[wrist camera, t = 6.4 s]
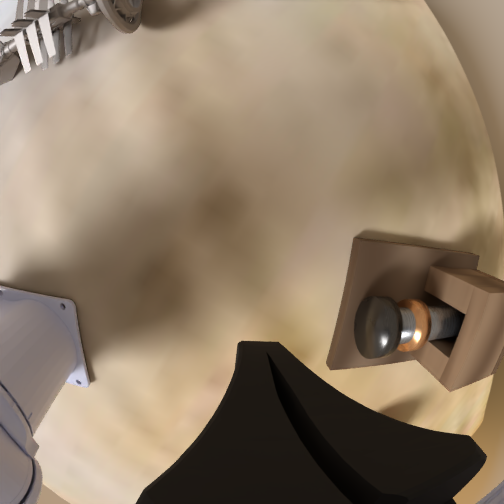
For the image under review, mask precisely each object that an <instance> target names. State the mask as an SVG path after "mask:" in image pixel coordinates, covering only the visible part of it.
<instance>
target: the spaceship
mask: <svg viewBox="0 0 504 504" xmlns="http://www.w3.org/2000/svg"><path fill="white" fill-rule="evenodd" d="M23 2H24V0H18V5H17V11H16V19H15V21H14V22H13V23H11V24H13V25H12V27H14V29H4V30H3V31H2V32H1V33H0V34H1V35H0V36H11V37H12V38H14V39H13V40H10V41H8V42H5V43H2V42H1V41H0V85H1V84H3V83H6V82H8V81H10V80H13V77H14V75H15V72H16V70H17V67H18V65H19V63H20V59H21V62H22V65H23V68H24V71H25V73H27V72H29V71H30V70H31V67H30V63H29V59H28V55H27V50H26V46H25V45H30V46H31V49H32V52H33V55H34V58H35V62H36V65H37V66H38V65H39V64H41V63H42V70H45V69H47V68H48V55H49V57H52V56H53V63H54V64H55V63H57V62H58V61H59V60H60V54H59V30H63V33H64V46H65V55H66V57H67V56H69V55H71V54H72V23H74V24H76V23H78V22H80V21H81V20H80V18H77V17H74V14H73V13H74V12H76V11H78V10H82V9H83V8H84V7H85V8H87V10H88V12H89V13H90V15H92V16H96V15H98V14H100V12H101V11H102V12H103V14H104V15H105V17H106V18H107V19H108V20H109V21H110V22H111V24H112V25H113V26H114V27H115V28H116V29H117V30H119V31H120V32H122V33H133V32H134V31H135V30H136V29H137V28H138V27H139V25H140V21H141V8H142V0H73V1H71V2H68V0H59V2H60V3H57V4H56V5H55V4H54V0H37V1H35V0H28V6H27V12H26V13H24V14H26V15H25V16H24V17H26V19H22V18H23ZM72 14H73V15H72ZM34 18H35V19H34ZM131 19H132V21H131ZM130 21H131V22H130ZM39 38H40V46H39V42H38V39H39ZM40 49H41V51H40ZM17 50H18V52H19V56H20V59H19V58H18V56H17V55H16V54H15V52H17Z"/></svg>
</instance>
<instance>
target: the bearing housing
mask: <svg viewBox="0 0 504 504" xmlns="http://www.w3.org/2000/svg"><path fill="white" fill-rule="evenodd" d="M478 260H479V256H478V255H475V254H473V253H466V252H460V251H453V250H446V249H439V248H432V247H424V246H417V245H409V244H402V243H394V242H386V241H378V240H370V239H361V238H354V239H353V245H352V251H351V256H350V262H349V267H348V272H347V278H346V283H345V287H344V292H343V297H342V301H341V306H340V310H339V315H338V319H337V323H336V327H335V331H334V335H333V339H332V343H331V347H330V350H329V354H328V358H327V361H326V364H327V366H328V367H329V369H330V370H339V369H350V368H360V367H369V366H377V365H385V364H392V363H398V362H404V361H410V360H417V361H418V362H419V363H420V364H421V365H422V366H423V367H424V368H426V369H427V370H428V371H429V372H430V373H431V374H432V375H433V376H434V377H435V378H436V379H437V380H438V381H439V382H440V383H441V384H442V385H443V386H444V387H445V388H446V389H447V390H448V391H449V392H451V391H454V390H456V389H459V388H462V387H464V386H467V385H469V384H472V383H474V382H477V381H479V380H481V379H483V378H486V377H488V376H490V375H492V374H494V373H496V371H497V369H498V367H499V364H500V362H501V360H502V358H503V356H504V281H502V280H500V279H498V278H495V277H493V276H491V275H488V274H486V273H483V272H481V271H479V270H476V269H477V265H478ZM368 296H388V297H391V298H392V299H394V300H395V302H396V303H398V302H399V301H401V300H403V299H419V300H421V301H423V302H424V303H425V304H426V305H427V306H447V305H451V306H452V307H454V308H456V309H457V310H459V311H461V312H462V313H464V314H466V315H465V318H464V321H463V324H462V327H461V329H460V332H459V335H458V336H453V337H448V338H442V339H435V340H429V341H427V342H426V344H425V345H424V346H423V347H422V348H420V349H418V350H413V351H406V352H402V351H400V350H398V349H396V350H395V352H394V353H393V354H392V355H390V356H388V357H384V358H375V359H366V358H364V357H363V356H362V355H361V354H360V353H359V351H358V349H357V346H356V343H355V338H354V321H355V315H356V312H357V309H358V307H359V305H360V303H361V302H362V300H363V299H364V298H366V297H368Z"/></svg>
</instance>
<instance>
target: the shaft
mask: <svg viewBox="0 0 504 504" xmlns="http://www.w3.org/2000/svg"><path fill="white" fill-rule="evenodd" d="M465 315H466V314H464V313H462V312H461V311H459V310H457V309H456V308H454V307H452V306H451V305H447V306H427V305H426V304H425V303H424V302H423V301H421V300H419V299H403V300H401V301H399V302H398V303H396V302H395V300H394V299H392V298H391V297H388V296H368V297H366V298H364V299H363V300H362V302H361V303H360V305H359V307H358V309H357V312H356V315H355V321H354V338H355V343H356V346H357V349H358V351H359V353H360V354H361V355H362V356H363V357H364V358H366V359H375V358H384V357H388V356H390V355H392V354H393V353H394V352H395V350H396V349H398V350H400V351H402V352H406V351H413V350H418V349H420V348H422V347H423V346H424V345H425V344H426V342H427V341H429V340H435V339H442V338H448V337H453V336H458V335H459V332H460V329H461V327H462V324H463V321H464V318H465Z"/></svg>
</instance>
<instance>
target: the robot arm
mask: <svg viewBox="0 0 504 504" xmlns="http://www.w3.org/2000/svg"><path fill="white" fill-rule="evenodd" d="M62 303H63V304H64V305H65V307H63V305H62ZM79 380H80V381H81V382H80V381H79ZM65 382H66V383H70V384H74V385H77V386H81V387H86V388H87V387H89V385H90V380H89V376H88V372H87V367H86V363H85V358H84V354H83V349H82V344H81V338H80V333H79V326H78V320H77V313H76V306H75V304H74V302H73V301H72V300H70V299H64V298H58V297H53V296H47V295H42V294H37V293H32V292H27V291H22V290H18V289H13V288H9V287H4V286H0V504H37V502H38V500H39V497H40V495H41V490H42V470H41V467H40V465H39V463H38V461H37V460H36V459H35V458H34V456H35V454H36V452H37V450H38V448H39V445H38V444H37V443H36V442H35V440H34V439H33V435H34V434H35V432H36V430H37V428H38V426H39V425H40V423H41V421H42V420H43V418H44V416H45V414H46V413H47V411H48V409H49V408H50V406H51V405H52V403H53V401H54V400H55V398H56V396H57V395H58V393H59V392H60V390H61V388H62V387H63V385H64V384H65ZM486 458H487V456H486V454H485V453H484V452H483V451H482V449H481V448H480V447H479V446H478V445H477V444H476V442H474V440H473V439H472V438H471V437H470V436H469V435H460V434H452V433H445V432H439V431H433V430H429V429H425V428H421V427H417V426H413V425H410V424H407V423H404V422H401V421H398V420H395V419H392V418H390V417H388V416H385V415H383V414H380V413H378V412H376V411H373V410H371V409H369V408H367V407H365V406H363V405H362V404H360V403H358V402H356V401H354V400H353V399H351V398H349V397H347V396H346V395H344V394H342V393H341V392H339V391H338V390H336V389H335V388H334V387H332V386H331V385H329V384H328V383H326V382H325V381H324V380H322V379H321V378H320V377H318V376H317V375H316V374H315V373H313V372H312V371H311V370H310V369H309V368H307V367H306V366H305V365H304V364H303V363H302V362H300V361H299V360H298V359H297V358H296V357H295V356H294V355H293V354H291V353H290V352H289V351H288V350H287V349H286V348H285V347H284V346H283V345H281V344H280V343H279V342H261V341H241V342H239V343H238V345H237V354H236V363H235V371H234V374H233V377H232V379H231V382H230V384H229V386H228V389H227V391H226V393H225V395H224V397H223V399H222V401H221V403H220V405H219V406H218V408H217V410H216V411H215V413H214V415H213V416H212V418H211V419H210V421H209V422H208V424H207V425H206V427H205V428H204V429H203V431H202V432H201V433H200V435H199V436H198V437H197V439H196V440H195V441H194V442H193V443H192V444H191V445H190V447H189V448H188V449H187V450H186V451H185V452H184V453H183V454H182V455H181V456H180V458H179V459H178V460H177V461H176V462H175V463H174V464H173V465H172V466H171V467H170V468H168V469H167V470H166V471H165V472H164V473H163V474H161V475H160V476H159V477H158V478H157V479H156V480H154V481H153V482H152V483H151V484H150V485H148V486H147V487H146V488H145V489H144V490H143V492H142V493H141V495H140V497H139V498H138V500H137V502H136V504H456V502H455V501H454V500H453V497H454V496H455V495H456V494H457V493H458V492H459V491H460V490H461V489H462V488H463V487H464V486H465V485H466V484H467V483H468V482H469V481H470V480H471V479H472V478H473V477H474V476H475V475H476V474H477V473H478V472H479V471H480V469H481V468H482V466H483V465H484V463H485V461H486ZM476 504H504V480H503V481H502V482H501V483H500V484H499V485H498V486H497V487H496V488H494V489H493V490H492V491H491V492H490V493H489V494H487V495H486V496H485V497H484V498H482V499H481V500H480V501H479V502H478V503H476Z"/></svg>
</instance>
